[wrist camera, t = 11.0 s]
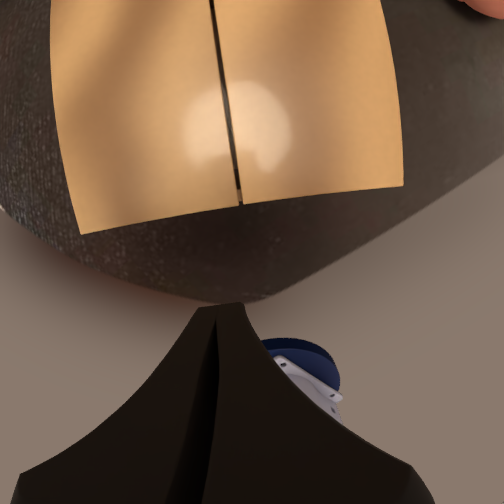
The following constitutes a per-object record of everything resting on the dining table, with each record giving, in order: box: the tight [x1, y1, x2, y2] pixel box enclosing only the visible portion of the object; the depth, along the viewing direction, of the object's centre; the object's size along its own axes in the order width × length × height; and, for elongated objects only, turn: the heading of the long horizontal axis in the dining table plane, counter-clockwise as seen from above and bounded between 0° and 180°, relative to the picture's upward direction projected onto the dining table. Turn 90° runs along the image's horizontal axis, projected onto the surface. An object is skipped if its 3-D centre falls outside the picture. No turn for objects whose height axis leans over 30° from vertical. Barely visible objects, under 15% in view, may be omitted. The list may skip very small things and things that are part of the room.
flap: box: [213, 0, 403, 204], centre depth 9 cm, size 6×11×1 cm, turn 8°
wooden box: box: [50, 0, 243, 234], centre depth 12 cm, size 13×11×7 cm
